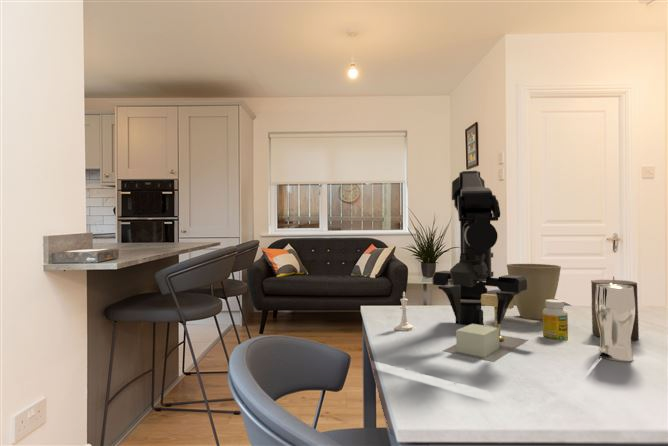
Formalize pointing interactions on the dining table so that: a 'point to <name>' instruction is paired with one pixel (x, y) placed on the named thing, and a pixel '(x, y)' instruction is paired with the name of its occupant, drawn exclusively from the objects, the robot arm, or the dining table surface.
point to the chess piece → (404, 317)
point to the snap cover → (477, 340)
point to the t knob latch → (493, 301)
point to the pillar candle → (594, 319)
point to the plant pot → (535, 287)
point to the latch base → (504, 348)
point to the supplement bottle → (555, 320)
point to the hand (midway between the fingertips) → (477, 320)
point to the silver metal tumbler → (615, 320)
